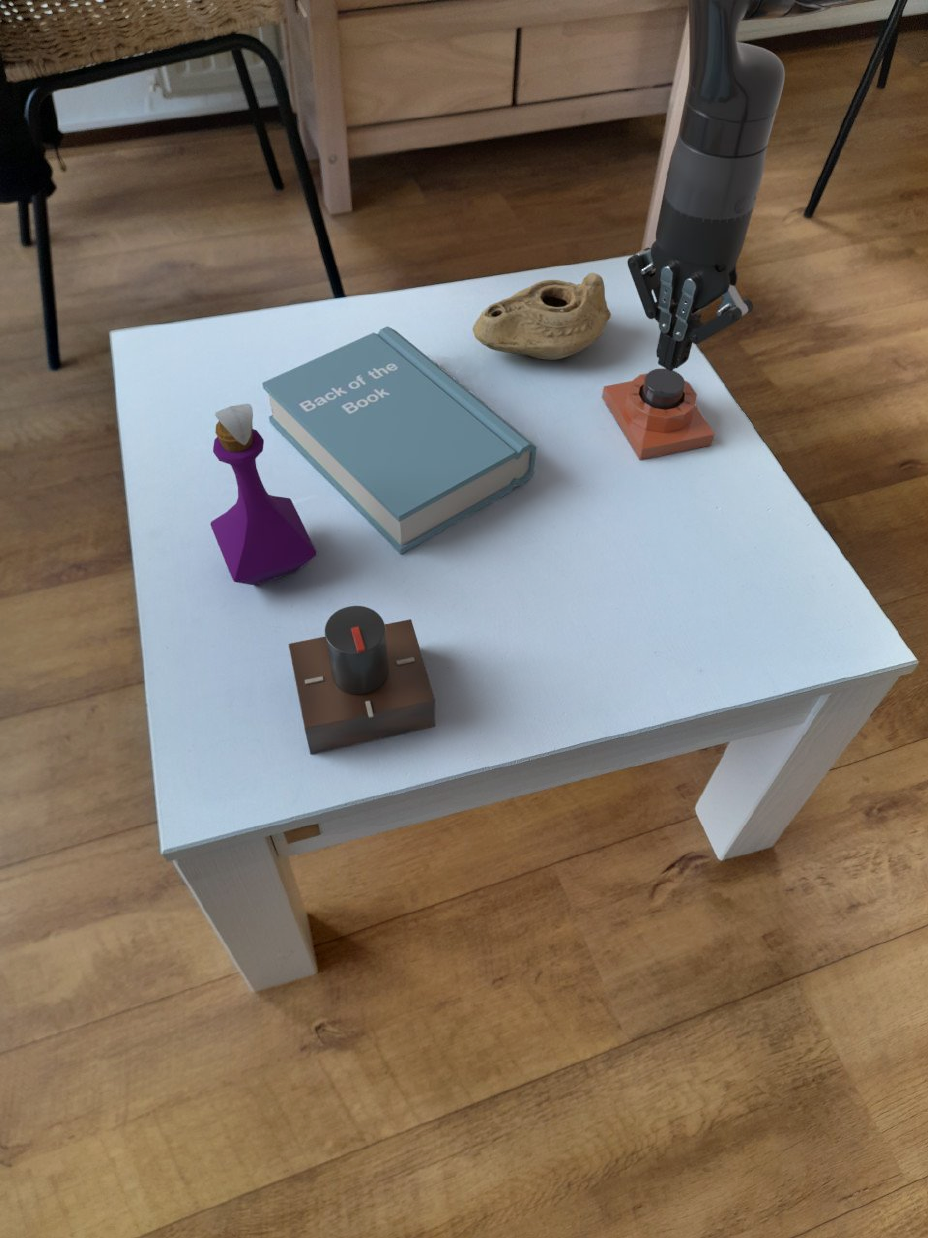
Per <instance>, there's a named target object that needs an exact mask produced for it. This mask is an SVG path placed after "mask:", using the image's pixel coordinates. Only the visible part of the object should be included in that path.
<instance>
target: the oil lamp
mask: <svg viewBox="0 0 928 1238" xmlns="http://www.w3.org/2000/svg"><path fill="white" fill-rule="evenodd" d="M605 287H606V286H605V283H604V279H603V277H602V276H601V275H600V274H598V273H596V272H590V273H588V274H587V275H586V276H585V277H583V279H582V281H581V283H580V284H576V283H573V282H571V281H564V280H560V279H545V280H542V281H538V282H536V283H534V284H532V285H530V286H528V287H526V288H523V289H521V290H519V291H517V292H515V293H514V294H513V295H511V296H510V297H507V298H504V299H502V300H500V301H498V302H494V303H492V304H490V305H488V306H487V307H486V308H485V309H484V310H483V311H482V312H481V314H480V315H479V316H478V318H477V319H476V321H475V322H474V324H473V326H472V332H473V335H474V338H475V339H476V340H477V341H479V342H480V343H481V345H483V346H485V347H486V348H488V349H490V350H493V351H495V352H500V353H509V354H518V355H526V356H529V357H533V358H535V359H538V360H550V361H553V360H561V359H564V358H568V357H570V356H572V355H575V354H578V353H579V352H581V351H583V350H584V349H586V348H587V347H589V346H591V345H592V344H593V343H595V342H596V341H597V340H598V339H599V338H600V337H601V335H602V334H603V332H604V329H605V327H606V323H608V321H609V320H610V319H611V316H612V313H611V311H610V309H609V307H608V302H607V299H606V289H605Z"/></svg>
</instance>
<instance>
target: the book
mask: <svg viewBox="0 0 928 1238" xmlns="http://www.w3.org/2000/svg"><path fill="white" fill-rule="evenodd" d="M261 384H262V389H263V390H264V391H265V392H266V393H267V394H268V397H269V403H270V409H271V415H270V416H268V421H269V423H270V424H271V425H272V426H273V427H274V429H276V430H277V431H278V432H279V433H280V434H281V436H283V437H284V438H285V439H286V440H287V441H288V442H289V443H290V444H291V445H292V447H294V449H296V450H297V452H299V454H301V456H303V458H304V459H306V460H307V461H308V462H309V464H311V466H312V467H313V468H315V470H317V471H318V472H319V473H320V474H321V476H322V477H323V478H324V479H325V480H326V481H328V483H329V484H331V486H333V487H334V489H335V490H336V491H337V492H338V493H340V495H341V496H342V497H343V498H344V499H345V500H346V501H347V502H348V503H349V504H350V505H352V507H353V508H354V509H355V510H356V511H357V512H358V513H359V514H360V515H361V516H362V517H363V518H364V519H365V520H366V521H367V522H368V523H369V524H370V526H372V527H373V528H374V529H375V530H376V531H377V532H378V533H379V534H380V535H381V536H382V537H383V538H384V539H385V540H386V541H387V542H388V543H389V544H390V545H391V546H392V547H393V548H394V549H395V550H396V551H397V552H398V554H400V555H403V554H404V553H405V552H408V551H409V550H411V549H413V548H415V547H416V546H418V545H420V544H421V543H423V542H425V541H426V540H429V539H430V538H432V537H433V536H435V535H438V534H439V533H441V532H443V531H444V530H446V529H448V528H450V527H451V526H453V525H455V524H456V523H458V522H460V521H462V520H464V519H465V518H466V517H469V516H470V515H472V514H474V513H475V512H477V511H479V510H481V509H482V508H484V507H486V506H488V505H489V504H491V503H493V502H495V501H496V500H498V499H500V498H502V497H504V496H505V495H507V494H508V493H511V492H512V491H513V490H514V489H515V487H521V486H522V485H525V484H526V483H527V482H528V480H529V479H530V478H531V477H532V475H533V474H534V473H535V466H536V457H537V456H536V455H537V448H538V446H536V444H534V443H533V442H531V441H530V440H529V439H528V438H526V437H525V436H524V435H523V434H522V433H521V432H519V431H518V430H517V429H516V428H515V427H513V426H512V425H511V424H510V423H508V422H507V421H506V420H505V419H504V418H503V417H501V416H500V415H499V414H498V413H496V412H495V411H494V410H492V408H490V407H489V406H488V405H487V404H486V403H484V402H483V401H482V400H480V399H479V397H477V396H476V395H475V394H473V393H472V392H471V391H470V390H469V389H467V388H466V387H465V386H464V385H462V384H461V383H460V382H459V381H457V380H456V379H455V378H454V377H453V376H451V375H450V374H449V373H448V372H447V371H446V370H444V369H443V368H442V367H440V366H439V365H438V364H437V363H436V362H435V361H433V360H432V359H431V358H430V357H428V356H427V355H426V354H425V353H424V352H423V351H421V350H420V349H418V347H416V346H415V345H414V344H412V342H410V341H409V340H408V339H406V338H405V337H404V336H403V335H402V334H400V333H399V332H398V331H397V330H396V329H394V328H392V327H389V326H388V325H386V326H385V327H383V328H380V330H379V331H378V332H377V333H376V332H372V333H369V334H367V335H364V336H363V337H361V338H357V339H356V340H354V341H352V342H349V343H347V344H345V345H342V346H341V347H339V348H336V349H333V350H332V351H329V352H327V353H325V354H323V355H321V356H319V357H316V358H314V359H311V360H310V361H308V362H305V363H303V364H301V365H299V366H296V367H294V368H292V369H289V370H287V371H285V372H283V373H281V374H279V375H276V376H273V377H272V378H270V379H268V380H265V381H263V382H262V383H261Z"/></svg>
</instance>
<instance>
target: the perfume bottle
mask: <svg viewBox="0 0 928 1238" xmlns="http://www.w3.org/2000/svg"><path fill="white" fill-rule="evenodd" d="M253 410H254V409H253V406H252V405H251V404H250V403H242V404H236V405H230V406H228V407H224V408H223V409H219V410H218V411H215V414H214V416H215V417H216V419H217V420H218V421H217V423H216V424H215V431H214V432H215V435H216V438H215V439H214V441H213V447H212V453H213V455H215V457H216V458H217V459H218V461H219V462H222V463H224V464H227V465H230V466H231V469H232V471H233V473H234V477H235V481H236V486H237V500H236V502H235V504H234V505H232V506H231V507H230V508H229V509H228V510H227V511H226V512H224V513H223V514H221V515H220V516H218V517H216V518H214V519H213V520H211V522H210V527H211V530H212V532H213V535H214V538H215V541H216V542H217V545H218V547H219V550H220V552H221V554H222V557H223V559H224V562H225V564H226V568H227V569H228V572H229V574H230V577H231V578H232V581H233V582H234V583H237V584H243V585H249V586H258V585H260V584H263V583H267V582H270V581H272V580H276V579H278V578H281V577H285V576H288V575H290V574H294V573H296V572H298V571H299V570H300V569H302V568H303V567H304V566H305V565H307V564H308V563H309V562H310V561H312V560H313V559H314V558H316V557H317V556H318V552H317V550H316V547H315V546H314V544H313V542H312V540H311V538H310V536H309V534H308V532H307V530H306V527H305V525H304V523H303V522H302V520H301V518H300V515H299V513H298V511H297V508H296V506H295V505H294V503H293V501H292V499H291V498H289V497H285V496H284V497H283V496H276V495H272V494H269V493H268V492H267V490H266V489H265V487H264V486H265V485H264V484H263V481H262V480H261V476H260V474H259V472H258V468H257V460H256V459H257V458H258V457H259V456H260V455H261V454H262V453H263V452H264V451H263V450H264V444H265V442H264V438H263V437H262V435H261V434H260V432H259V431H258V430H257V429H254V428H253V427H254V426H253V419H254V411H253Z"/></svg>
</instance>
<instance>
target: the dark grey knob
mask: <svg viewBox="0 0 928 1238" xmlns="http://www.w3.org/2000/svg"><path fill="white" fill-rule="evenodd" d="M647 373H648V374H647ZM647 373H646V374H647V375H646V377H645V380H644V385H643V389H642V399H643V401H644V402H645V403H646V404H648V405H650V406H652V407H653V408H658V409H664V410H667V409H672V408H675V407H677V406H678V405H679V404H680V402H681V399H682V395H683V391H684V387H685V381H686V380H685V378H684V377H683V375H682V374H681V373H679V372H677V371H675V370H672V371H669V370H668V369H666V368H655V369H652V370H650V371H649V372H647ZM684 380H685V381H684Z"/></svg>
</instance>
